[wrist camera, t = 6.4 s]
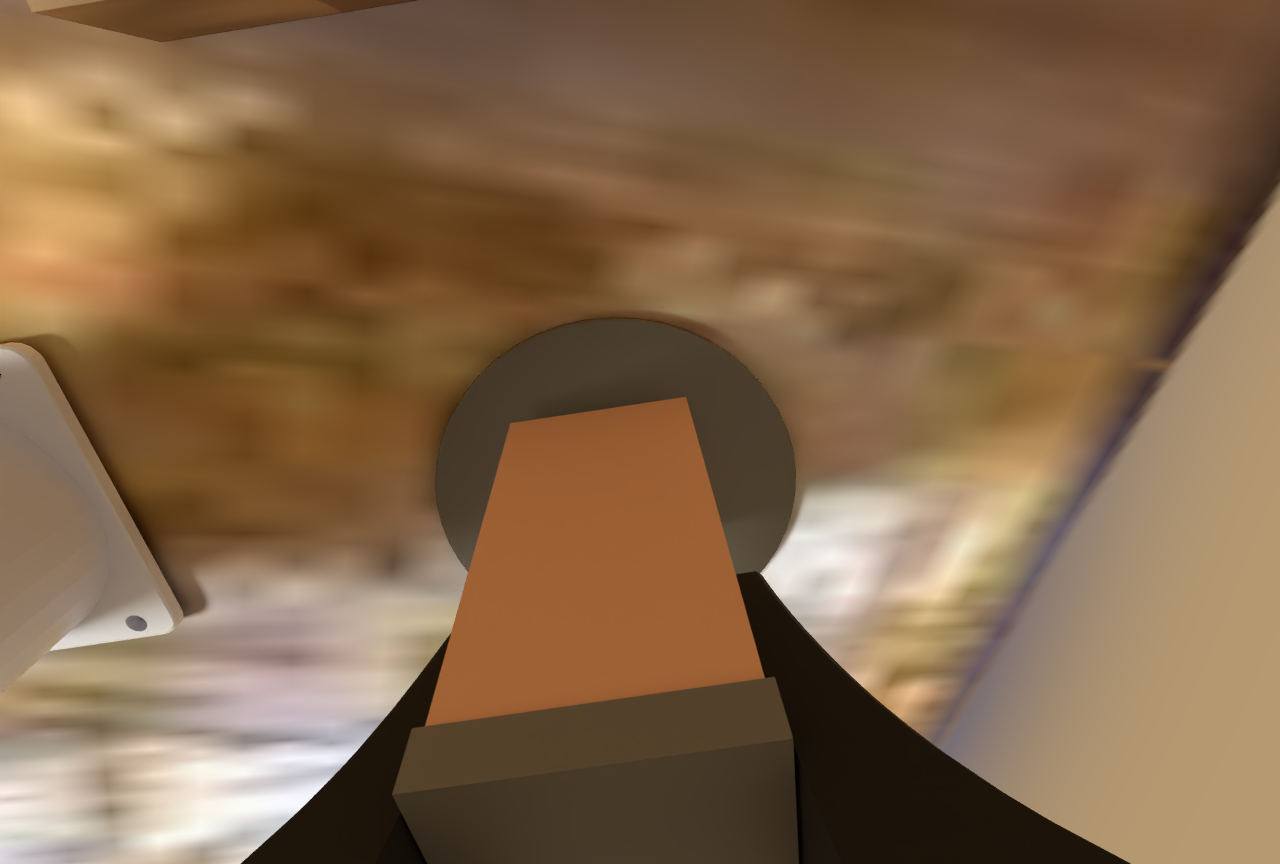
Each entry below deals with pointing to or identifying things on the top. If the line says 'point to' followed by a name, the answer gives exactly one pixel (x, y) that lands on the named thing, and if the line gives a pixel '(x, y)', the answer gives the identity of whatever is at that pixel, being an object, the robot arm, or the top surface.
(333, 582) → the top surface
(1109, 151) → the top surface
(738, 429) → the coaster
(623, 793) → the plug
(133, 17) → the tan square socket
